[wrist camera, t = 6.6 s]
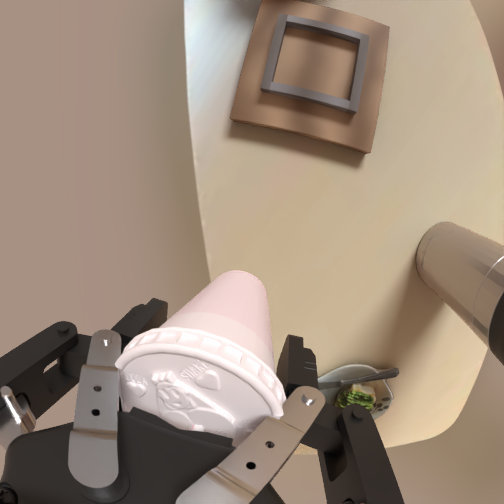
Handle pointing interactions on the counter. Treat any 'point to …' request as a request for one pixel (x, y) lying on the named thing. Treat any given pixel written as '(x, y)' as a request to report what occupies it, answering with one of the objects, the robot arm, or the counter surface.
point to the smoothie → (208, 362)
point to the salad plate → (358, 387)
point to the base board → (313, 73)
